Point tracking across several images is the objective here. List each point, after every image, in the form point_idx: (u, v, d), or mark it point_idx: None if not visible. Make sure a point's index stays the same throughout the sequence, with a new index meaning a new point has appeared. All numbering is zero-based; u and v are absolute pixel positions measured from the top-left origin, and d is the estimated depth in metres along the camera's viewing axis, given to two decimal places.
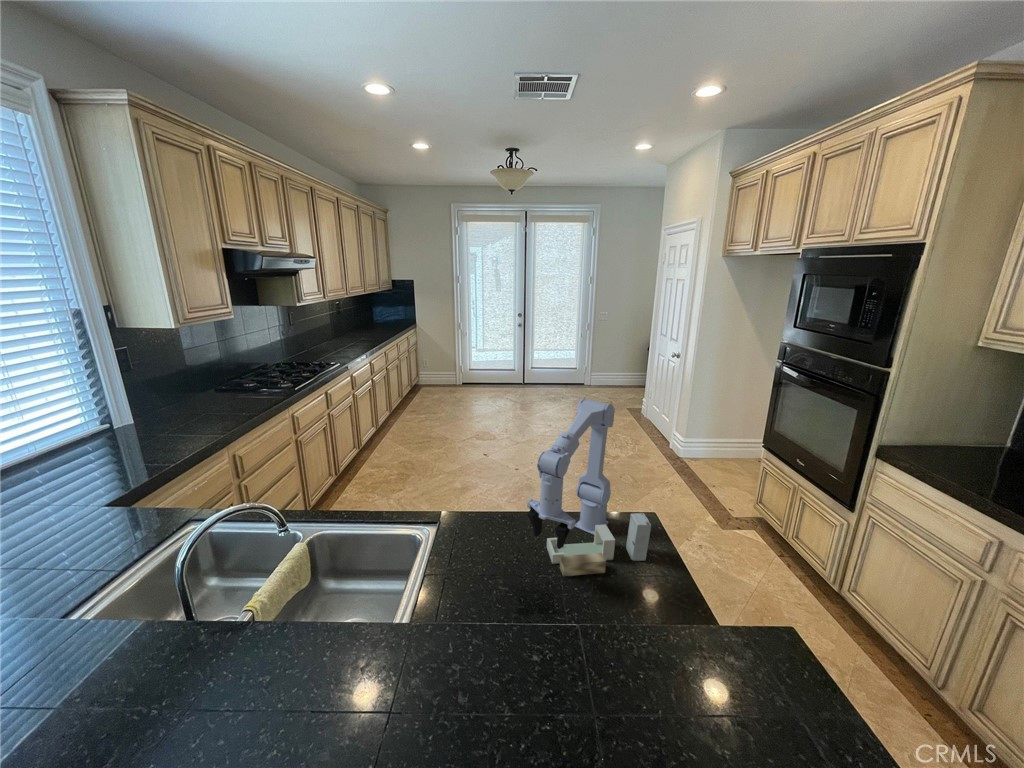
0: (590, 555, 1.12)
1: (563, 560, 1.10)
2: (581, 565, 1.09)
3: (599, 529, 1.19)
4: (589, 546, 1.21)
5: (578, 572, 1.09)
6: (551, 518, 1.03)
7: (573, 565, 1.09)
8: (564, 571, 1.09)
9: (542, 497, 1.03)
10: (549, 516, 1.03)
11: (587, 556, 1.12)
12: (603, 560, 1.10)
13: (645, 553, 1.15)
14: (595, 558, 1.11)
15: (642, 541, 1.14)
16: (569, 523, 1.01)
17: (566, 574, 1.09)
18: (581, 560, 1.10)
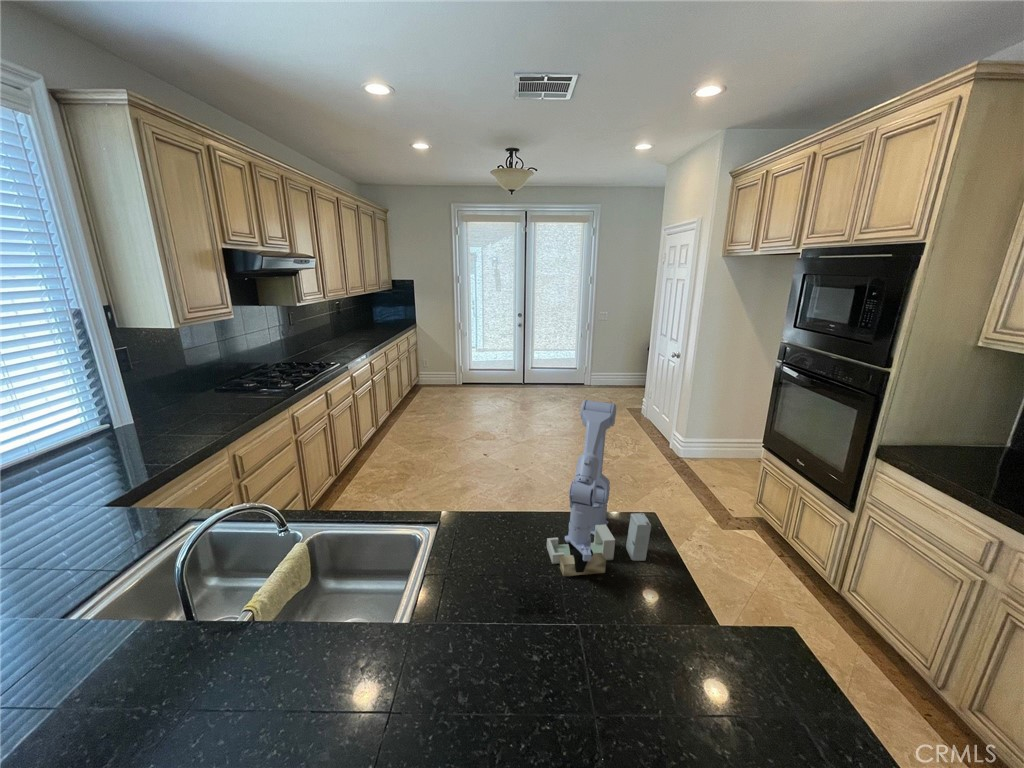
0: None
1: (563, 560, 1.10)
2: None
3: (599, 529, 1.19)
4: None
5: (578, 572, 1.09)
6: (572, 543, 1.06)
7: (573, 566, 1.09)
8: (564, 571, 1.09)
9: (570, 521, 1.08)
10: (572, 541, 1.07)
11: None
12: (603, 560, 1.10)
13: (645, 553, 1.15)
14: (595, 557, 1.11)
15: (642, 541, 1.14)
16: (583, 554, 1.02)
17: (566, 574, 1.09)
18: None
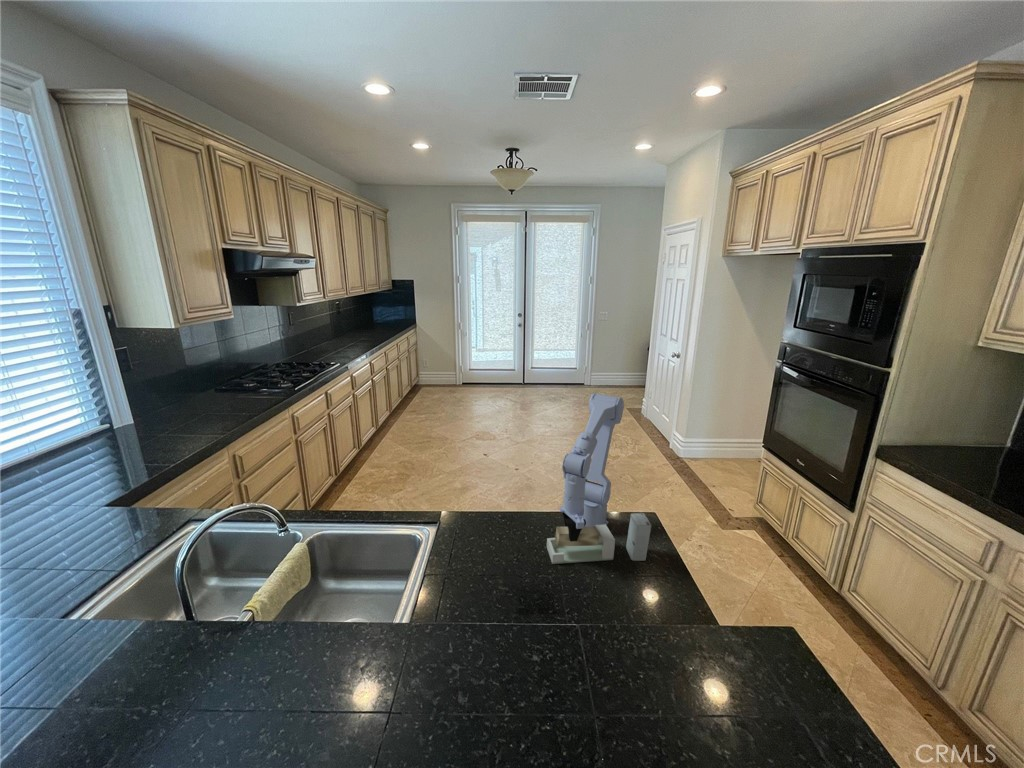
0: (585, 528, 1.18)
1: (559, 530, 1.16)
2: None
3: (599, 529, 1.19)
4: (589, 546, 1.21)
5: (572, 542, 1.15)
6: (567, 513, 1.12)
7: (568, 535, 1.14)
8: (559, 540, 1.14)
9: (564, 492, 1.14)
10: (566, 511, 1.13)
11: None
12: (597, 533, 1.16)
13: (645, 553, 1.15)
14: (589, 530, 1.17)
15: (642, 541, 1.14)
16: (576, 522, 1.08)
17: (561, 544, 1.15)
18: None
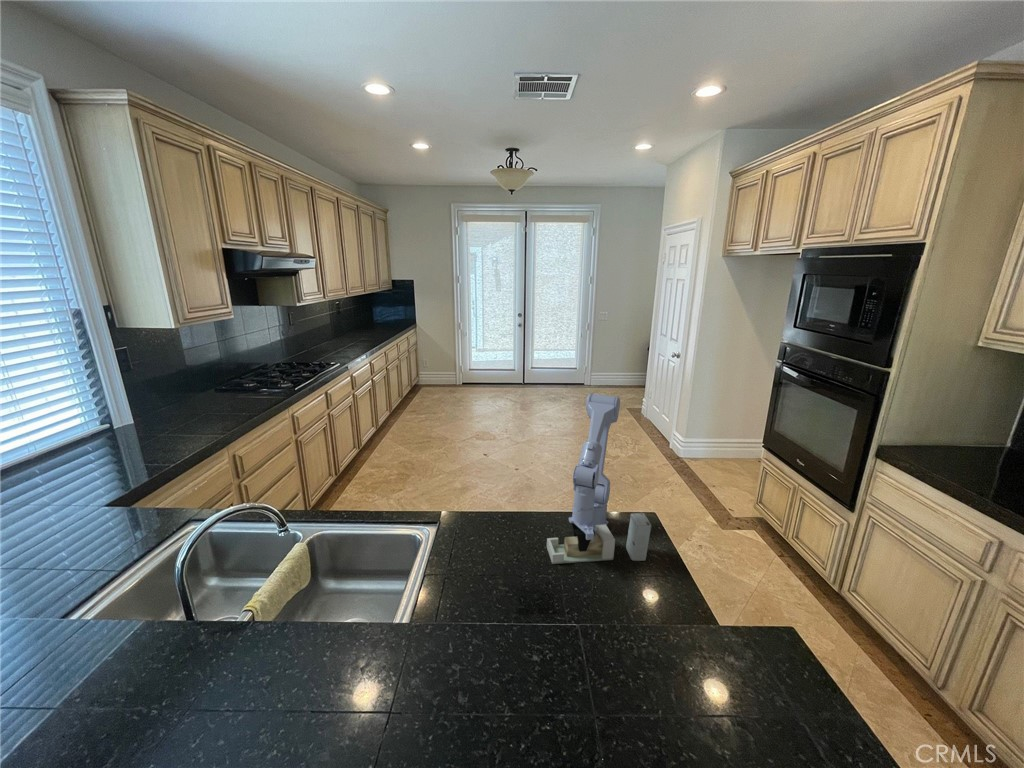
0: None
1: (567, 540, 1.17)
2: None
3: (599, 529, 1.19)
4: None
5: (581, 552, 1.16)
6: (576, 524, 1.13)
7: (576, 546, 1.16)
8: (568, 551, 1.16)
9: None
10: (575, 522, 1.14)
11: None
12: None
13: (645, 553, 1.15)
14: (597, 539, 1.18)
15: (642, 541, 1.14)
16: (586, 533, 1.09)
17: (570, 554, 1.16)
18: None
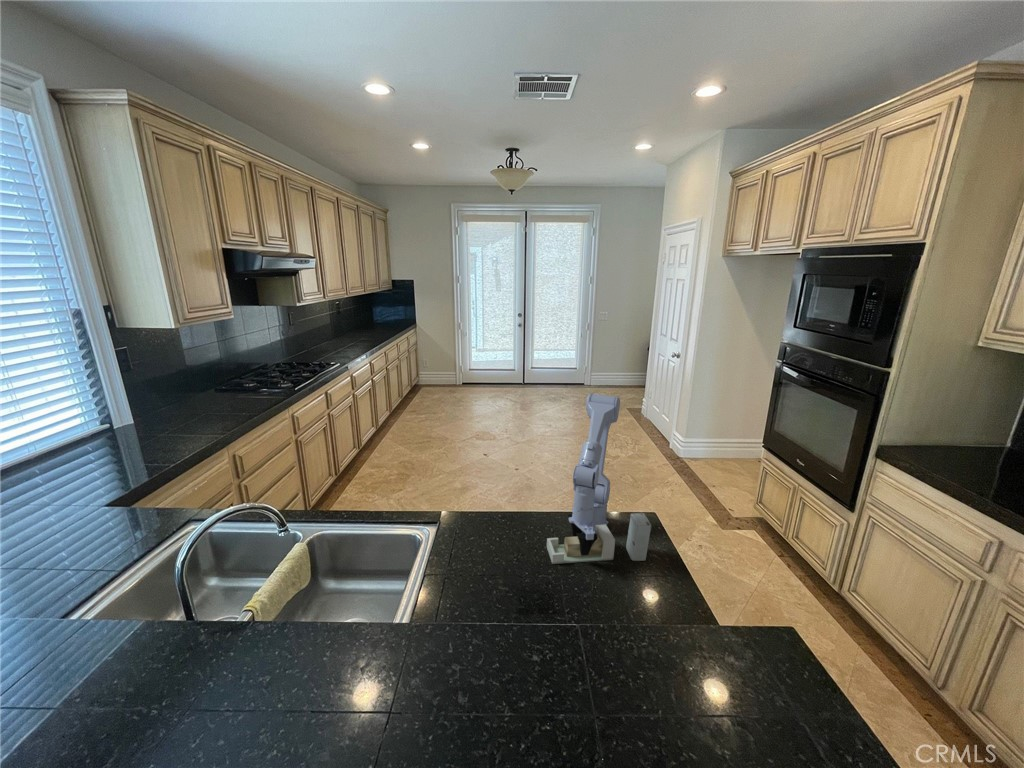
0: None
1: (567, 541, 1.17)
2: None
3: (599, 529, 1.19)
4: None
5: None
6: (576, 524, 1.13)
7: (576, 546, 1.16)
8: (568, 551, 1.16)
9: None
10: (575, 522, 1.14)
11: None
12: None
13: (645, 553, 1.15)
14: (597, 539, 1.18)
15: (642, 541, 1.14)
16: (586, 533, 1.09)
17: (570, 554, 1.16)
18: None
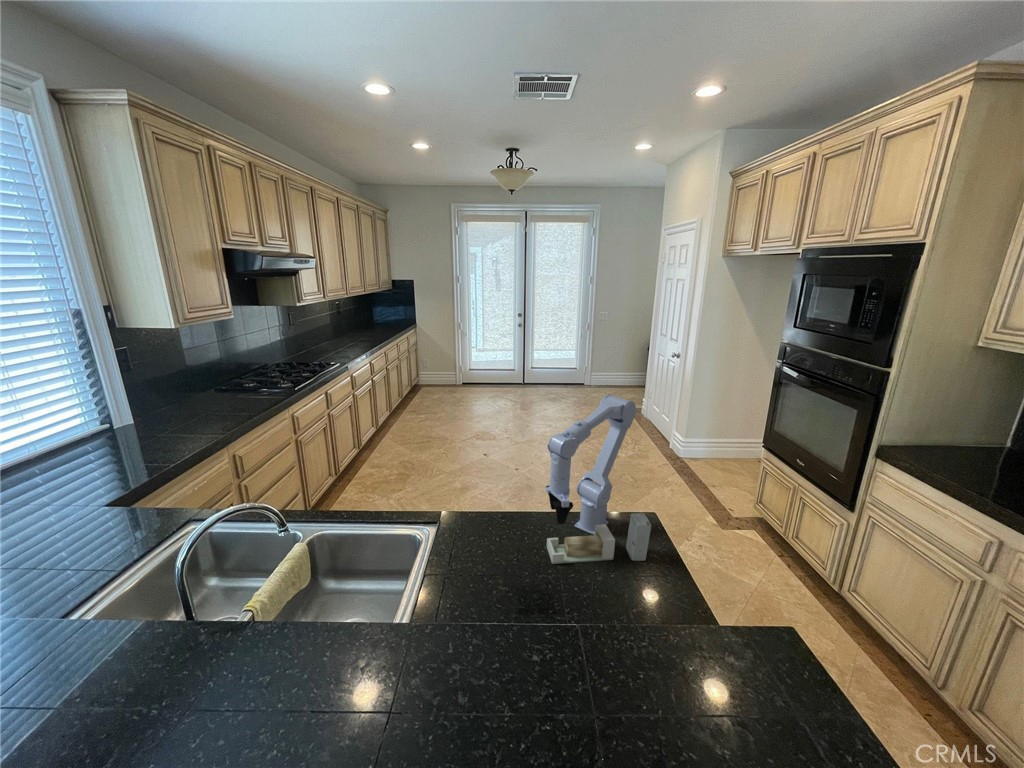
0: (593, 537, 1.19)
1: (567, 541, 1.17)
2: (584, 545, 1.16)
3: (599, 529, 1.19)
4: None
5: (581, 552, 1.17)
6: (553, 493, 1.16)
7: (576, 546, 1.16)
8: (568, 551, 1.16)
9: None
10: (552, 491, 1.16)
11: (589, 537, 1.19)
12: None
13: (645, 553, 1.15)
14: (597, 539, 1.18)
15: (642, 541, 1.14)
16: (562, 501, 1.12)
17: (570, 554, 1.16)
18: (584, 541, 1.17)
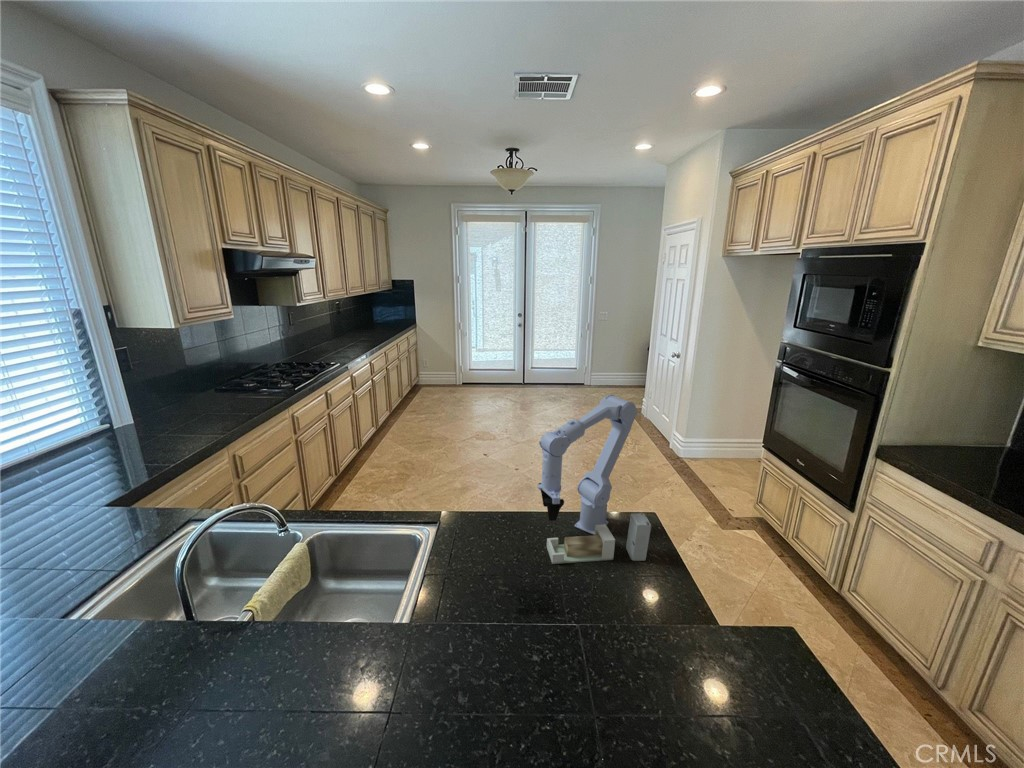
0: (593, 537, 1.19)
1: (567, 541, 1.17)
2: (584, 545, 1.16)
3: (599, 529, 1.19)
4: None
5: (581, 552, 1.17)
6: (544, 490, 1.18)
7: (576, 546, 1.16)
8: (568, 551, 1.16)
9: (542, 470, 1.19)
10: (543, 488, 1.18)
11: (589, 537, 1.19)
12: None
13: (645, 553, 1.15)
14: (597, 539, 1.18)
15: (642, 541, 1.14)
16: (552, 498, 1.13)
17: (570, 554, 1.16)
18: (584, 541, 1.17)
